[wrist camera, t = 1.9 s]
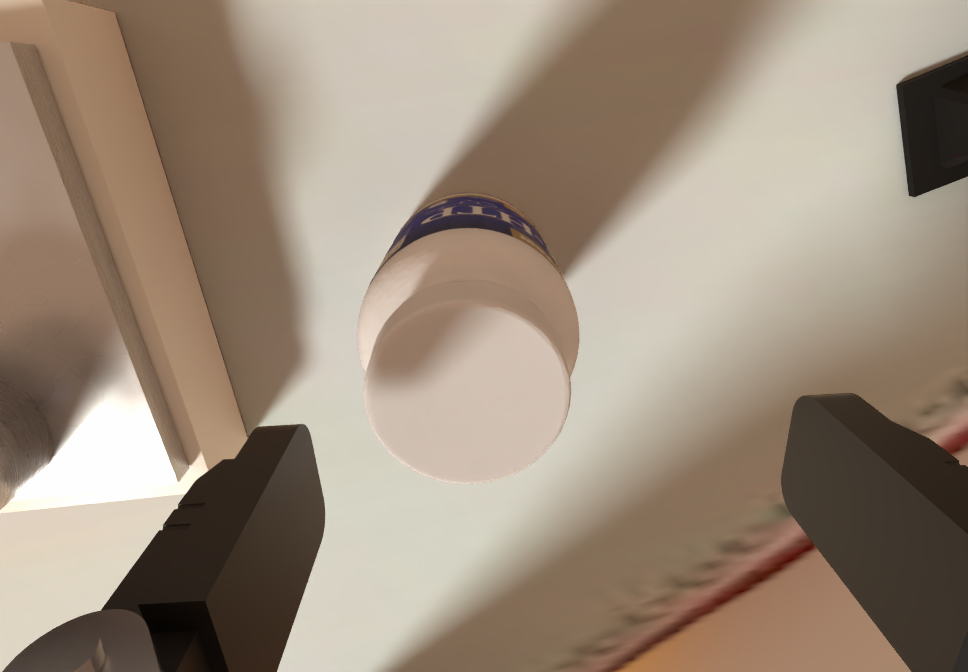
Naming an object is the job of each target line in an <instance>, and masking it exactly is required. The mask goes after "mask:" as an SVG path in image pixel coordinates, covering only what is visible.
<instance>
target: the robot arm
mask: <svg viewBox="0 0 968 672" xmlns="http://www.w3.org/2000/svg"><path fill="white" fill-rule="evenodd" d="M781 485H782V492H783V496H784V500H785V503H786V505H787V508H788V509H789V511H790V513H791V515H792V516H793V517H794V519H795V520H796V521H797V523H798V524H799V525H800V526H801V528H802V529H803V530H804V532H805V533H806V534H807V536H808V537H809V538H810V540H811V541H812V542H813V543H814V545H815V546H816V547H817V549H818V550H819V551H820V553H821V554H822V555H823V557H824V558H825V559H826V560H827V562H828V563H829V564H830V566H831V567H832V568H833V569H834V571H835V572H836V573H837V575H838V576H839V577H840V579H841V580H842V581H843V583H844V584H845V585H846V586H847V588H848V589H849V590H850V592H851V593H852V594H853V596H854V597H855V598H856V600H857V601H858V602H859V604H860V605H861V606H862V607H863V609H864V610H865V611H866V613H867V614H868V615H869V617H870V618H871V619H872V621H873V622H874V623H875V624H876V626H877V627H878V628H879V630H880V631H881V632H882V633H883V635H884V636H885V637H886V639H887V640H888V641H889V643H890V644H891V645H892V647H893V648H894V649H895V650H896V652H897V653H898V654H899V656H900V657H901V658H902V660H903V661H904V662H905V663H906V665H907V666H908V667H909V669H910V670H911V671H912V672H968V467H967V466H965V465H960V464H959V460H957V459H956V458H955V457H953V456H952V455H951V454H949V453H948V452H947V451H945V450H944V449H943V448H941V447H940V446H939V445H937V444H936V443H935V442H933V441H932V440H931V439H929V438H927V437H925V436H922V435H920V434H918V433H916V432H914V431H912V430H909V429H907V428H905V427H903V426H901V425H899V424H896V423H894V422H892V421H891V420H889V419H888V418H887V417H885V416H884V415H883V414H881V413H880V412H879V411H878V410H876V409H875V408H874V407H872V406H871V405H870V404H868V403H867V402H866V401H865V400H863V399H862V398H861V397H859V396H858V395H856V394H853V393H841V394H824V395H807V396H802V397H800V398H799V399H798V400H797V401H796V403H795V405H794V408H793V412H792V418H791V424H790V429H789V435H788V441H787V446H786V452H785V458H784V464H783V469H782V476H781ZM324 526H325V504H324V498H323V493H322V488H321V483H320V478H319V474H318V469H317V464H316V459H315V454H314V449H313V444H312V440H311V435H310V432H309V430H308V428H307V427H306V425H304V424H297V425H280V426H263V427H257V428H255V429H254V430H253V432H252V433H251V435H250V436H249V438H248V439H247V441H246V442H245V444H244V445H243V447H242V448H241V450H240V451H239V453H238V454H237V456H236V457H235V459H223V460H222V461H221V462H219V463H218V464H217V465H215V466H214V467H213V468H211V469H210V470H209V471H207V472H206V473H205V474H203V475H202V476H201V477H199V478H198V479H197V480H196V481H195V482H194V483H193V485H192V486H191V487H190V489H189V490H188V492H187V493H186V494H185V496H184V497H183V498H182V500H181V501H180V502H179V504H178V509H174V511H173V512H172V513H171V515H170V516H169V518H168V519H167V520H166V522H165V523H164V524H163V530H160V531H158V533H157V534H156V535H155V537H154V538H153V540H152V541H151V542H150V544H149V545H148V546H147V548H146V549H145V551H144V552H143V553H142V555H141V556H140V557H139V559H138V560H137V562H136V563H135V564H134V566H133V567H132V568H131V570H130V571H129V573H128V574H127V575H126V577H125V578H124V579H123V581H122V582H121V583H120V585H119V586H118V588H117V589H116V590H115V592H114V593H113V594H112V596H111V597H110V599H109V600H108V601H107V603H106V604H105V605H104V607H103V608H102V610H101V611H97V612H92V613H89V614H86V615H83V616H80V617H77V618H75V619H73V620H70V621H68V622H66V623H64V624H62V625H60V626H58V627H56V628H54V629H52V630H51V631H49V632H48V633H46V634H44V635H43V636H41V637H40V638H38V639H37V640H36V641H34V642H33V643H32V644H30V645H29V646H28V647H26V648H25V649H24V650H23V651H22V652H21V653H20V654H18V655H17V656H16V657H15V658H14V659H13V660H12V661H11V662H10V664H9V665H8V666H7V667H6V668H5V669H4V670H3V672H277V669H278V666H279V664H280V661H281V658H282V655H283V652H284V649H285V646H286V643H287V640H288V637H289V634H290V632H291V629H292V626H293V623H294V620H295V617H296V614H297V611H298V608H299V605H300V602H301V599H302V597H303V594H304V591H305V588H306V585H307V582H308V579H309V576H310V573H311V570H312V567H313V565H314V562H315V559H316V556H317V553H318V550H319V547H320V544H321V541H322V538H323V533H324Z"/></svg>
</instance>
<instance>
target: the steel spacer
mask: <svg viewBox="0 0 968 672" xmlns="http://www.w3.org/2000/svg"><path fill="white" fill-rule="evenodd" d="M52 452H53V440H52V435H51V431H50V428H49V426H48V423H47V421H46V419H45V418H44V416H43V415H42V413H41V412H40V410H39V409H38V408H37V406H36V405H35V404H34V403H33V402H32V401H31V400H30V399H29V398H28V397H27V396H25V395H24V394H23V393H22V392H21V391H19V390H18V389H16V388H15V387H14V386H12V385H10V384H9V383H7V382H5V381H3V380H1V379H0V510H1V509H2V508H3V507H4V506H5V505H7V504H8V503H9V502H10V501H11V500H12V499H13V498H15V497H16V496H17V495H18V494H19V493H20V492H21V491H23V490H24V489H25V488H26V487H27V486H28V485H29V484H31V483H32V482H33V481H34V480H35V479H36V478H37V477H39V476H40V475H41V474H42V473H43V472H44V471H45V469H46V468H47V466H48V464H49V462H50V460H51V457H52Z"/></svg>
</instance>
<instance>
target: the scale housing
mask: <svg viewBox="0 0 968 672" xmlns="http://www.w3.org/2000/svg"><path fill="white" fill-rule="evenodd" d="M1 42H17V43H24V44H32V45H35V48H36V50H37V53H38V56H39V58H40V61H41V64H42V67H43V69H44V72H45V75H46V77H47V80H48V83H49V86H50V88H51V91H52V94H53V97H54V99H55V102H56V105H57V107H58V110H59V113H60V116H61V118H62V121H63V124H64V126H65V129H66V132H67V135H68V137H69V140H70V143H71V146H72V148H73V151H74V154H75V156H76V159H77V162H78V165H79V167H80V170H81V173H82V175H83V178H84V181H85V184H86V186H87V189H88V192H89V195H90V197H91V200H92V203H93V205H94V208H95V211H96V214H97V216H98V219H99V222H100V224H101V227H102V230H103V233H104V235H105V238H106V241H107V244H108V246H109V249H110V252H111V254H112V257H113V260H114V263H115V265H116V268H117V271H118V273H119V276H120V279H121V282H122V284H123V287H124V290H125V293H126V295H127V298H128V301H129V303H130V306H131V309H132V312H133V314H134V317H135V320H136V322H137V325H138V328H139V331H140V333H141V336H142V339H143V342H144V344H145V347H146V350H147V352H148V355H149V358H150V361H151V363H152V366H153V369H154V371H155V374H156V377H157V380H158V382H159V385H160V388H161V391H162V393H163V396H164V399H165V401H166V404H167V407H168V410H169V412H170V415H171V418H172V420H173V423H174V426H175V429H176V431H177V434H178V437H179V440H180V442H181V445H182V448H183V450H184V453H185V456H186V459H187V461H188V464H189V467H190V468H189V469H188V471H187V472H186V473H185V475H184V476H183V477H182V479H181V480H180V481H179V483H177V484H167V485H158V486H148V487H139V488H129V489H120V490H110V491H101V492H91V493H82V494H72V495H63V496H53V497H44V498H34V499H25V500H15V501H10V502H9V503H8V504H7V505H5V506H4V507H3V508H2V509H1V510H0V513H6V512H15V511H25V510H35V509H44V508H54V507H63V506H73V505H82V504H92V503H101V502H111V501H120V500H130V499H139V498H149V497H158V496H168V495H177V494H186V493H187V492H188V490H189V489H190V487H191V486H192V485H193V483H194V482H195V481H196V480H197V479H198V478H199V477H201V476H202V475H203V474H205V473H206V472H207V471H209V470H210V469H211V468H213V467H214V466H215V465H217V464H218V463H219V462H221V461H222V460H223V459H235V457H236V456H237V454H238V453H239V451H240V450H241V448H242V447H243V445H244V444H245V442H246V441H247V439H248V438H247V435H246V431H245V428H244V425H243V422H242V419H241V415H240V412H239V409H238V406H237V403H236V399H235V396H234V393H233V390H232V387H231V383H230V380H229V377H228V374H227V371H226V367H225V364H224V361H223V358H222V355H221V351H220V348H219V345H218V342H217V339H216V335H215V332H214V329H213V326H212V323H211V319H210V316H209V313H208V310H207V307H206V303H205V300H204V297H203V294H202V291H201V287H200V284H199V281H198V278H197V275H196V271H195V268H194V265H193V262H192V258H191V255H190V252H189V249H188V246H187V242H186V239H185V236H184V233H183V230H182V226H181V223H180V220H179V217H178V214H177V210H176V207H175V204H174V201H173V198H172V194H171V191H170V188H169V185H168V182H167V178H166V175H165V172H164V169H163V166H162V162H161V159H160V156H159V153H158V150H157V146H156V143H155V140H154V137H153V134H152V130H151V127H150V124H149V121H148V118H147V114H146V111H145V108H144V105H143V102H142V98H141V95H140V92H139V89H138V86H137V82H136V79H135V76H134V73H133V70H132V66H131V63H130V60H129V57H128V54H127V50H126V47H125V44H124V41H123V38H122V34H121V31H120V28H119V25H118V22H117V18H116V15H115V12H111V11H107V10H103V9H99V8H95V7H91V6H87V5H83V4H79V3H75V2H71V1H67V0H0V43H1Z"/></svg>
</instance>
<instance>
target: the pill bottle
mask: <svg viewBox="0 0 968 672" xmlns="http://www.w3.org/2000/svg"><path fill="white" fill-rule="evenodd" d="M357 336H358V349H359V354H360V358H361V362H362V365H363V368H364V371H365V373H366V376H365V383H364V396H365V405H366V410H367V415H368V418H369V420H370V423H371V426H372V428H373V430H374V432H375V434H376V435H377V437H378V439H379V440H380V441H381V442H382V444H383V445H384V446H385V447H386V449H387V450H388V451H389V452H390V453H391V454H392V455H393V456H394V457H395V458H397V459H398V460H399V461H400V462H402V463H403V464H404V465H406V466H407V467H409V468H411V469H413V470H414V471H416V472H419V473H421V474H423V475H426V476H428V477H431V478H433V479H437V480H441V481H445V482H453V483H482V482H489V481H494V480H498V479H501V478H504V477H507V476H510V475H512V474H514V473H516V472H518V471H520V470H522V469H524V468H526V467H527V466H529V465H531V464H532V463H533V462H535V461H536V460H537V459H538V458H539V457H540V456H541V455H543V454H544V453H545V452H546V450H547V449H548V448H549V447H550V446H551V445H552V444H553V442H554V441H555V439H556V438H557V436H558V435H559V433H560V432H561V430H562V428H563V425H564V423H565V420H566V417H567V414H568V410H569V406H570V398H571V382H570V376H571V374H572V371H573V369H574V366H575V362H576V359H577V354H578V347H579V324H578V317H577V312H576V308H575V305H574V302H573V299H572V296H571V293H570V291H569V289H568V287H567V285H566V282H565V281H564V279H563V277H562V275H561V273H560V271H559V269H558V267H557V265H556V263H555V261H554V260H553V258H552V256H551V254H550V252H549V251H548V249H547V247H546V245H545V243H544V241H543V239H542V237H541V236H540V234H539V232H538V231H537V229H536V228H535V226H534V225H533V224H532V223H531V221H530V220H529V219H528V218H527V217H526V216H525V215H524V214H522V213H521V212H520V211H519V210H518V209H516V208H515V207H513V206H512V205H510V204H508V203H507V202H505V201H503V200H500V199H497V198H495V197H492V196H487V195H483V194H474V193H465V194H455V195H450V196H446V197H443V198H440V199H438V200H435V201H433V202H431V203H429V204H427V205H426V206H424V207H423V208H421V209H420V210H419V211H417V212H416V213H415V214H414V215H413V216H412V217H411V218H410V219H409V220H408V221H407V222H406V223H405V225H404V226H403V227H402V229H401V231H400V232H399V234H398V235H397V237H396V238H395V240H394V242H393V244H392V246H391V247H390V249H389V251H388V253H387V254H386V256H385V258H384V260H383V261H382V263H381V265H380V267H379V269H378V270H377V272H376V274H375V276H374V278H373V279H372V281H371V283H370V285H369V287H368V290H367V292H366V295H365V297H364V300H363V303H362V306H361V310H360V314H359V321H358V334H357Z"/></svg>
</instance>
